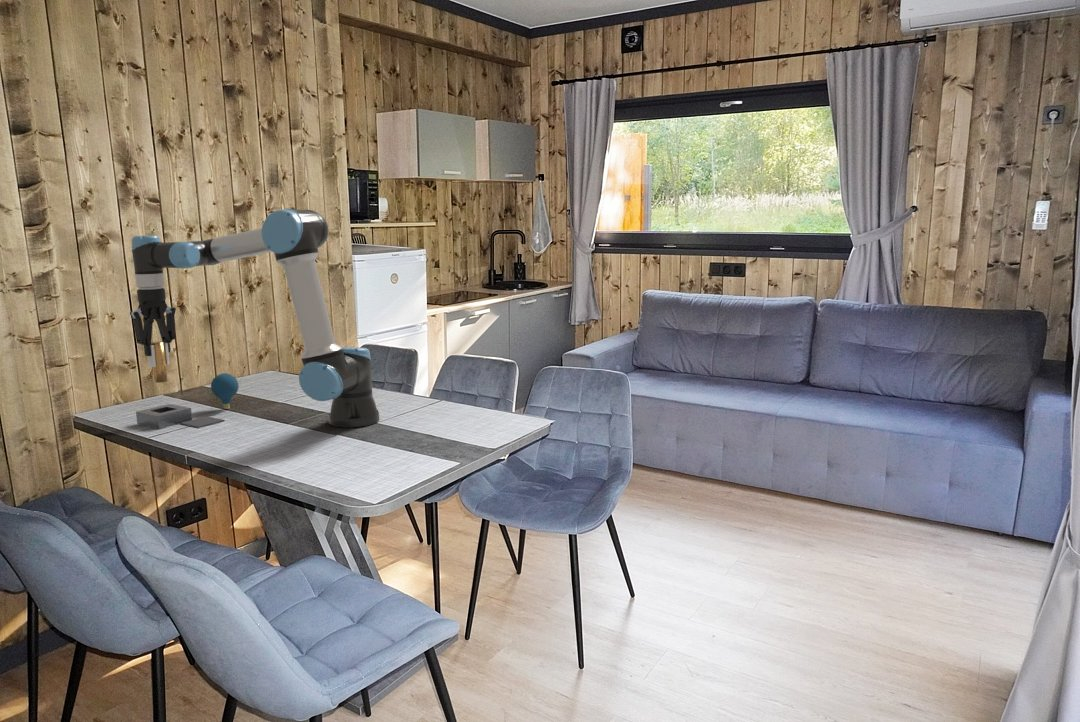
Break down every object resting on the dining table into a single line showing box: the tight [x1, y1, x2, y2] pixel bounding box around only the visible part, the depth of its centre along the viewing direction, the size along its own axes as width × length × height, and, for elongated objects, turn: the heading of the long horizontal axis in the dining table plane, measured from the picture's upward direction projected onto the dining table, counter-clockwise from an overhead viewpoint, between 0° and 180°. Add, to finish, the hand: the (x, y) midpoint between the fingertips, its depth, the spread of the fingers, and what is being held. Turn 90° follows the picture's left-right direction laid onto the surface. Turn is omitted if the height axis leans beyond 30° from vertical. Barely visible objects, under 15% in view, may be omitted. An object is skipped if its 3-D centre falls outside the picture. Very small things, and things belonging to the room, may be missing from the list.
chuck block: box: [135, 403, 193, 430], centre depth 233 cm, size 11×11×4 cm
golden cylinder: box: [151, 340, 169, 384], centre depth 230 cm, size 4×4×12 cm
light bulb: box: [210, 372, 240, 410], centre depth 248 cm, size 8×8×12 cm
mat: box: [179, 415, 225, 429], centre depth 233 cm, size 9×9×1 cm
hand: (159, 364), depth 230 cm, fingers closed on golden cylinder, 4 cm apart
